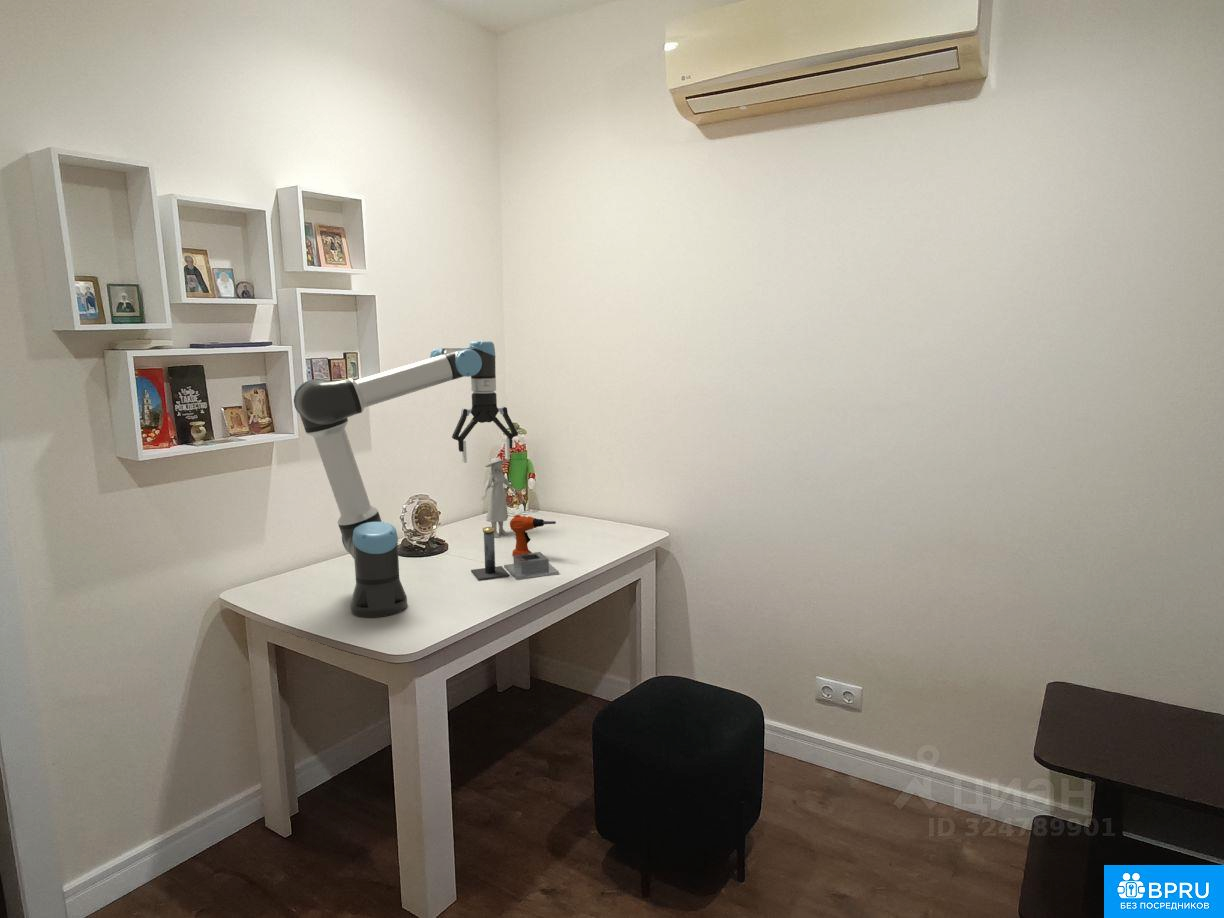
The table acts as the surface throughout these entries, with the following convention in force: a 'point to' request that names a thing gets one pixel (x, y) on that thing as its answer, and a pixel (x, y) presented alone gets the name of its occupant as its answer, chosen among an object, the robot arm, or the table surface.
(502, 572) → the mat
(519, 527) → the toy drill
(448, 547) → the table surface
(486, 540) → the gold capped cylinder
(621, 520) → the table surface
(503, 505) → the character figure
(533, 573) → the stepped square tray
